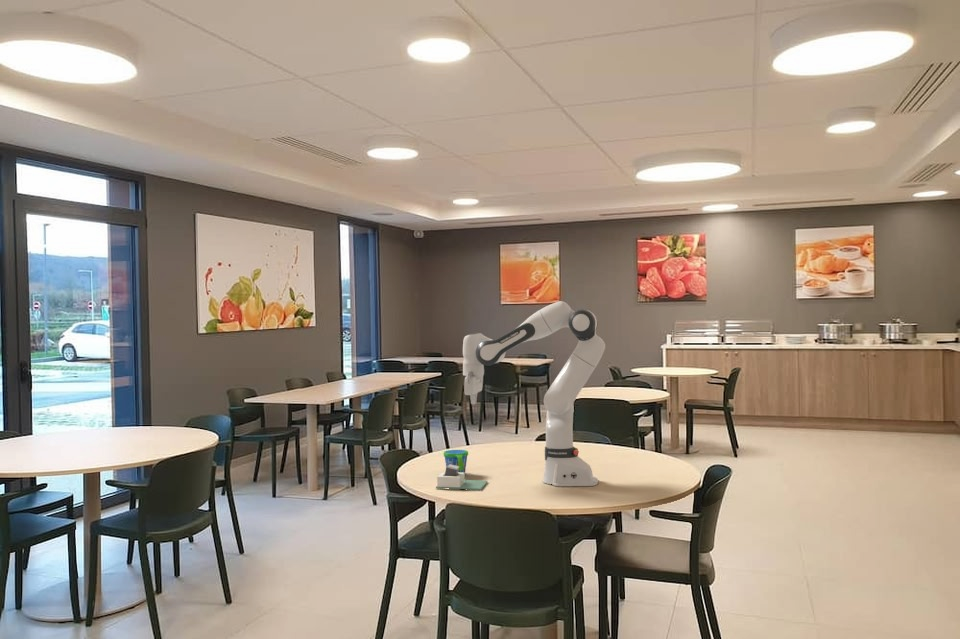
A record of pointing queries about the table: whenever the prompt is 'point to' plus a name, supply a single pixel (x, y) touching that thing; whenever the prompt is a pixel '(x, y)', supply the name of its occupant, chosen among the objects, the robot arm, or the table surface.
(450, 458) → the snack cup
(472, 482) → the header board
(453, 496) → the table surface
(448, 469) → the plug
